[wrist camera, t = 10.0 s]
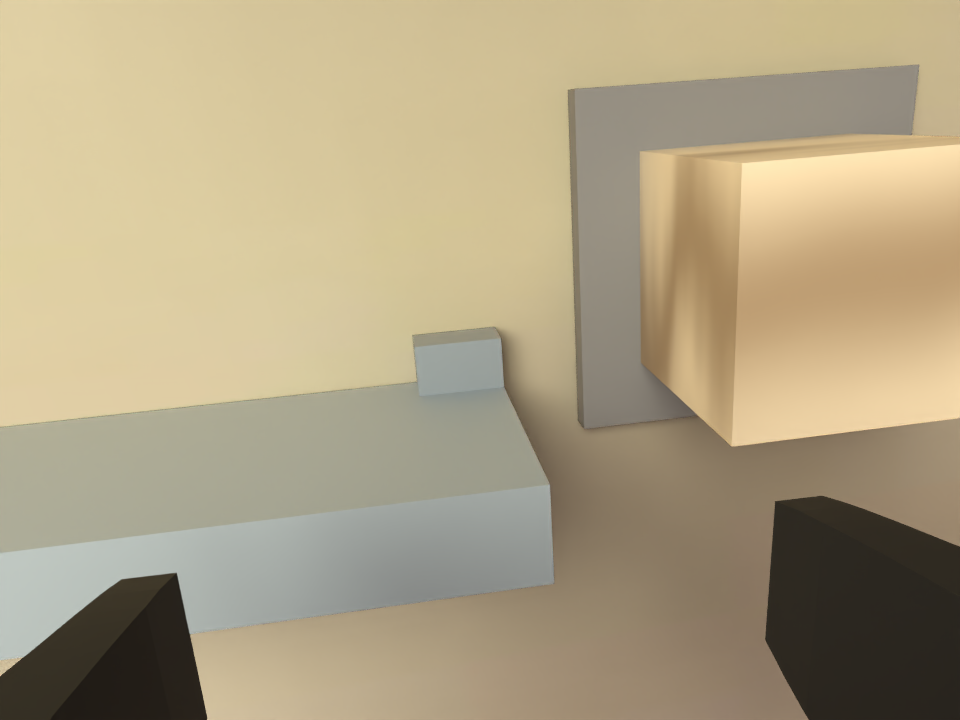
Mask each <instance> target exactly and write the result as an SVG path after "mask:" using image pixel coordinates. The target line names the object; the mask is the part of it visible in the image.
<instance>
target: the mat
mask: <svg viewBox="0 0 960 720" xmlns="http://www.w3.org/2000/svg"><path fill="white" fill-rule="evenodd" d="M918 72H919V65H907V66H893V67H878V68H864V69H850V70H836V71H822V72H808V73H794V74H780V75H765V76H751V77H737V78H723V79H709V80H695V81H681V82H667V83H652V84H638V85H624V86H610V87H596V88H582V89H572V90H568V106H569V139H570V171H571V204H572V237H573V269H574V302H575V335H576V367H577V400H578V421H579V422H580V424H581V425H582V427H583V428H584V429H589V428H598V427H606V426H615V425H623V424H632V423H640V422H649V421H657V420H666V419H674V418H683V417H691V416H698V415H697V414H696V413H695V412H694V411H693V410H692V409H691V408H689V407H688V406H687V405H686V404H685V403H684V402H683V401H682V400H681V399H680V398H679V397H678V396H676V395H675V394H674V393H673V392H672V391H671V390H670V389H669V388H668V387H667V386H666V385H665V384H664V383H662V382H661V381H660V380H659V379H658V378H657V377H656V376H655V375H654V374H653V373H652V372H651V371H649V370H648V369H647V368H646V367H645V366H644V365H643V364H642V363H641V309H640V151H649V150H660V149H672V148H684V147H696V146H708V145H720V144H732V143H744V142H756V141H768V140H780V139H792V138H804V137H816V136H827V135H839V134H881V135H912V128H913V119H914V110H915V100H916V91H917V82H918Z"/></svg>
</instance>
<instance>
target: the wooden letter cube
mask: <svg viewBox="0 0 960 720" xmlns="http://www.w3.org/2000/svg"><path fill="white" fill-rule="evenodd" d="M640 309H641V363H642V364H643V365H644V366H645V367H646V368H647V369H648V370H649V371H651V372H652V373H653V374H654V375H655V376H656V377H657V378H658V379H659V380H660V381H661V382H662V383H664V384H665V385H666V386H667V387H668V388H669V389H670V390H671V391H672V392H673V393H674V394H675V395H676V396H678V397H679V398H680V399H681V400H682V401H683V402H684V403H685V404H686V405H687V406H688V407H689V408H691V409H692V410H693V411H694V412H695V413H696V414H697V415H698V416H699V417H700V418H701V419H702V420H704V421H705V422H706V423H707V424H708V425H709V426H710V427H711V428H712V429H713V430H714V431H715V432H717V433H718V434H719V435H720V436H721V437H722V438H723V439H724V440H725V441H726V442H727V443H728V444H730V445H731V446H732V447H734V446H741V445H749V444H757V443H765V442H773V441H781V440H789V439H797V438H805V437H813V436H821V435H829V434H837V433H845V432H853V431H861V430H869V429H877V428H885V427H893V426H901V425H908V424H916V423H924V422H932V421H940V420H948V419H956V418H960V137H954V136H917V135H881V134H839V135H827V136H816V137H804V138H792V139H780V140H768V141H756V142H744V143H732V144H720V145H708V146H696V147H684V148H672V149H660V150H649V151H640Z"/></svg>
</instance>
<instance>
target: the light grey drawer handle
mask: <svg viewBox="0 0 960 720" xmlns="http://www.w3.org/2000/svg"><path fill="white" fill-rule="evenodd" d="M413 345H414V355H415V364H416V374H417V382H414V383H405V384H395V385H386V386H377V387H368V388H359V389H349V390H340V391H331V392H322V393H313V394H303V395H294V396H285V397H276V398H266V399H257V400H248V401H239V402H230V403H220V404H211V405H202V406H193V407H184V408H174V409H165V410H156V411H147V412H137V413H128V414H119V415H110V416H101V417H91V418H82V419H73V420H64V421H55V422H45V423H36V424H27V425H18V426H8V427H0V660H6V659H13V658H20V657H24V656H26V655H27V654H28V653H29V652H31V651H32V650H33V649H34V648H35V647H37V646H38V645H39V644H40V643H42V642H43V641H44V640H45V639H46V638H48V637H49V636H50V635H51V634H52V633H54V632H55V631H56V630H57V629H58V628H60V627H61V626H62V625H63V624H64V623H66V622H67V621H68V620H69V619H71V618H72V617H73V616H74V615H75V614H77V613H78V612H79V611H80V610H82V609H83V608H84V607H85V606H87V605H88V604H89V603H90V602H92V601H93V600H94V599H95V598H97V597H98V596H99V595H100V594H102V593H103V592H104V591H106V590H107V589H108V588H110V587H111V586H113V585H114V584H115V583H117V582H118V581H120V580H121V579H127V578H136V577H144V576H153V575H161V574H169V573H177V576H178V581H179V585H180V590H181V595H182V600H183V604H184V609H185V614H186V619H187V624H188V628H189V633H190V634H194V633H201V632H209V631H216V630H223V629H230V628H238V627H245V626H252V625H259V624H267V623H274V622H281V621H288V620H295V619H303V618H310V617H317V616H324V615H332V614H339V613H346V612H353V611H361V610H368V609H375V608H382V607H390V606H397V605H404V604H411V603H419V602H426V601H433V600H440V599H448V598H455V597H462V596H469V595H477V594H484V593H491V592H498V591H506V590H513V589H520V588H527V587H534V586H542V585H549V584H554V565H553V542H552V520H551V498H550V484H549V482H548V480H547V477H546V475H545V473H544V471H543V469H542V467H541V465H540V462H539V460H538V458H537V456H536V454H535V452H534V450H533V448H532V445H531V443H530V441H529V439H528V437H527V435H526V433H525V430H524V428H523V426H522V424H521V422H520V420H519V418H518V416H517V413H516V411H515V409H514V407H513V405H512V403H511V401H510V399H509V396H508V394H507V392H506V390H505V388H504V378H503V362H502V346H501V337H500V336H499V334H498V332H497V330H496V328H495V327H489V328H479V329H469V330H460V331H450V332H440V333H430V334H420V335H413Z"/></svg>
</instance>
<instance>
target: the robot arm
mask: <svg viewBox="0 0 960 720" xmlns="http://www.w3.org/2000/svg"><path fill="white" fill-rule="evenodd" d="M765 640H766V642H767V644H768V646H769V648H770V650H771V652H772V654H773V655H774V657H775V659H776V661H777V663H778V665H779V667H780V669H781V671H782V673H783V675H784V677H785V679H786V681H787V682H788V684H789V686H790V688H791V689H792V691H793V693H794V695H795V696H796V698H797V700H798V702H799V704H800V705H801V707H802V709H803V711H804V712H805V714H806V716H807V717H808V719H809V720H960V547H959V546H956V545H954V544H951V543H949V542H946V541H944V540H941V539H939V538H936V537H934V536H931V535H929V534H926V533H924V532H921V531H919V530H916V529H914V528H911V527H909V526H906V525H904V524H901V523H899V522H896V521H894V520H891V519H888V518H886V517H883V516H880V515H878V514H875V513H873V512H870V511H867V510H865V509H862V508H859V507H856V506H853V505H850V504H847V503H844V502H841V501H838V500H835V499H831V498H828V497H824V496H817V497H808V498H800V499H792V500H783V501H775V513H774V527H773V541H772V554H771V568H770V582H769V596H768V609H767V623H766V637H765ZM0 720H207V714H206V710H205V705H204V700H203V695H202V690H201V686H200V681H199V676H198V671H197V667H196V662H195V657H194V652H193V647H192V643H191V638H190V633H189V628H188V624H187V619H186V614H185V609H184V604H183V600H182V595H181V590H180V585H179V581H178V576H177V573H169V574H161V575H153V576H144V577H136V578H127V579H121V580H120V581H118V582H117V583H115V584H114V585H113V586H111V587H110V588H108V589H107V590H106V591H104V592H103V593H102V594H100V595H99V596H98V597H97V598H95V599H94V600H93V601H92V602H90V603H89V604H88V605H87V606H85V607H84V608H83V609H82V610H80V611H79V612H78V613H77V614H75V615H74V616H73V617H72V618H71V619H69V620H68V621H67V622H66V623H64V624H63V625H62V626H61V627H60V628H58V629H57V630H56V631H55V632H54V633H52V634H51V635H50V636H49V637H48V638H46V639H45V640H44V641H43V642H42V643H40V644H39V645H38V646H37V647H35V648H34V649H33V650H32V651H31V652H29V653H28V654H27V655H26V656H24V657H23V658H22V659H21V660H20V661H18V662H17V663H16V664H15V665H13V666H12V667H11V668H10V669H9V670H7V671H6V672H5V673H4V674H2V675H1V676H0Z"/></svg>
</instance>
